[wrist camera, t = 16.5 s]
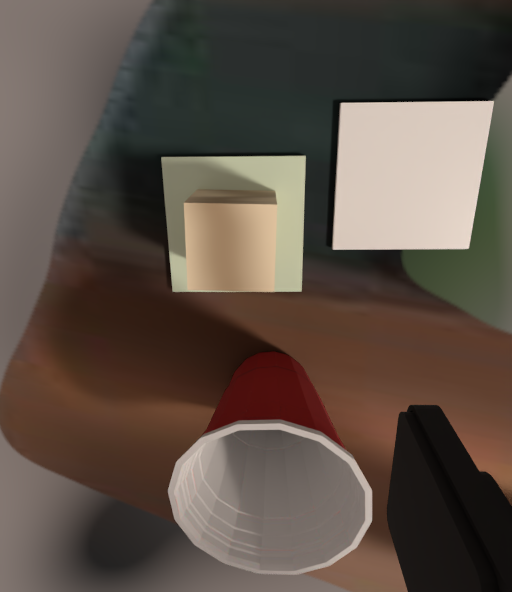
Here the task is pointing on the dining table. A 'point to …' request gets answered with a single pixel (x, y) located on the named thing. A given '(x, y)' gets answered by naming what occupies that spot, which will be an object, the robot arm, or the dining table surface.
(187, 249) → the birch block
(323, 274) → the dining table surface
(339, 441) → the plastic cup
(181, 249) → the sage pad
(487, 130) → the blush pad
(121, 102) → the dining table surface
